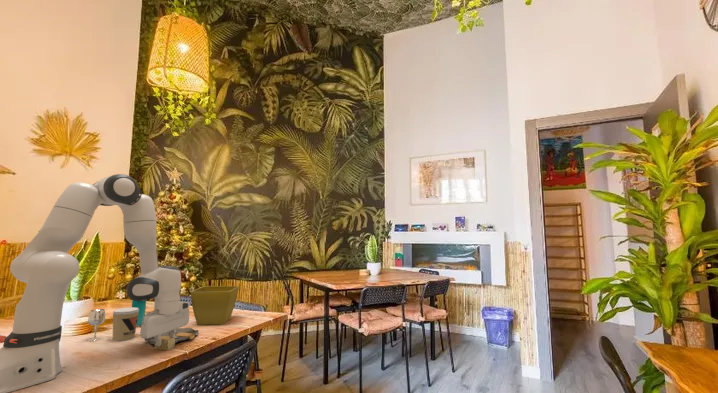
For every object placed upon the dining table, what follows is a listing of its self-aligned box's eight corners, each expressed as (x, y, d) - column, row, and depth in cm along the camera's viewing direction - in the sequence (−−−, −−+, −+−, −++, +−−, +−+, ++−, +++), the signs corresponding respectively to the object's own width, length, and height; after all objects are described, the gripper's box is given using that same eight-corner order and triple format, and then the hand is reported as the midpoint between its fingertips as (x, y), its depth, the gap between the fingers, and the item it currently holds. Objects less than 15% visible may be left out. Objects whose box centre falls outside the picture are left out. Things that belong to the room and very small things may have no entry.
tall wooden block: (167, 350, 127) (168, 339, 127) (154, 349, 128) (155, 338, 129) (174, 347, 130) (175, 336, 131) (162, 346, 132) (162, 335, 132)
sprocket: (200, 339, 138) (201, 324, 139) (144, 347, 127) (145, 331, 128) (195, 327, 155) (196, 314, 156) (145, 333, 144) (146, 319, 145)
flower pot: (201, 317, 178) (203, 285, 180) (237, 316, 180) (239, 285, 182) (187, 327, 159) (189, 291, 161) (227, 326, 161) (229, 291, 163)
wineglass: (104, 339, 139) (107, 310, 141) (87, 342, 135) (90, 312, 137) (101, 336, 143) (104, 308, 145) (84, 339, 139) (87, 310, 140)
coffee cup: (123, 342, 136) (125, 312, 137) (104, 340, 137) (107, 311, 139) (142, 335, 145) (144, 307, 146) (124, 334, 147) (126, 306, 148)
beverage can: (146, 325, 161) (149, 294, 162) (133, 328, 156) (136, 296, 158) (140, 323, 164) (143, 293, 165) (127, 326, 159) (130, 294, 161)
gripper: (150, 314, 120) (147, 353, 119) (192, 302, 140) (191, 336, 138) (137, 312, 122) (134, 351, 120) (180, 301, 141) (178, 334, 140)
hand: (165, 343), depth 129 cm, fingers closed on tall wooden block, 4 cm apart
